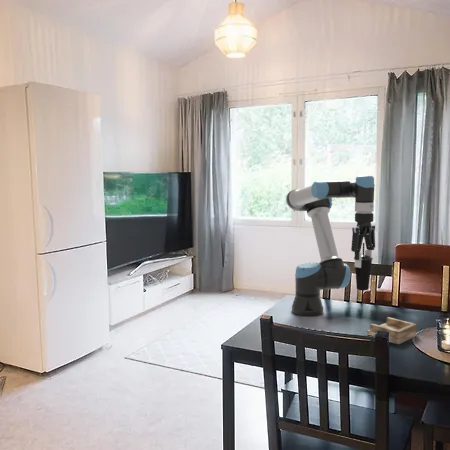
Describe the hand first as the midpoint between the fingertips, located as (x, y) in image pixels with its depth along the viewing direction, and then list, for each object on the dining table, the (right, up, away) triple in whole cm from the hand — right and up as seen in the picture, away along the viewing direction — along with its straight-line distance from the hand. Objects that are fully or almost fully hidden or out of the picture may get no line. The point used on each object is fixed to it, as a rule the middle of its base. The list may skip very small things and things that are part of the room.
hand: (363, 266), depth 193 cm
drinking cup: (0, -10, +1) cm, 10 cm away
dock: (+9, -28, -8) cm, 30 cm away
